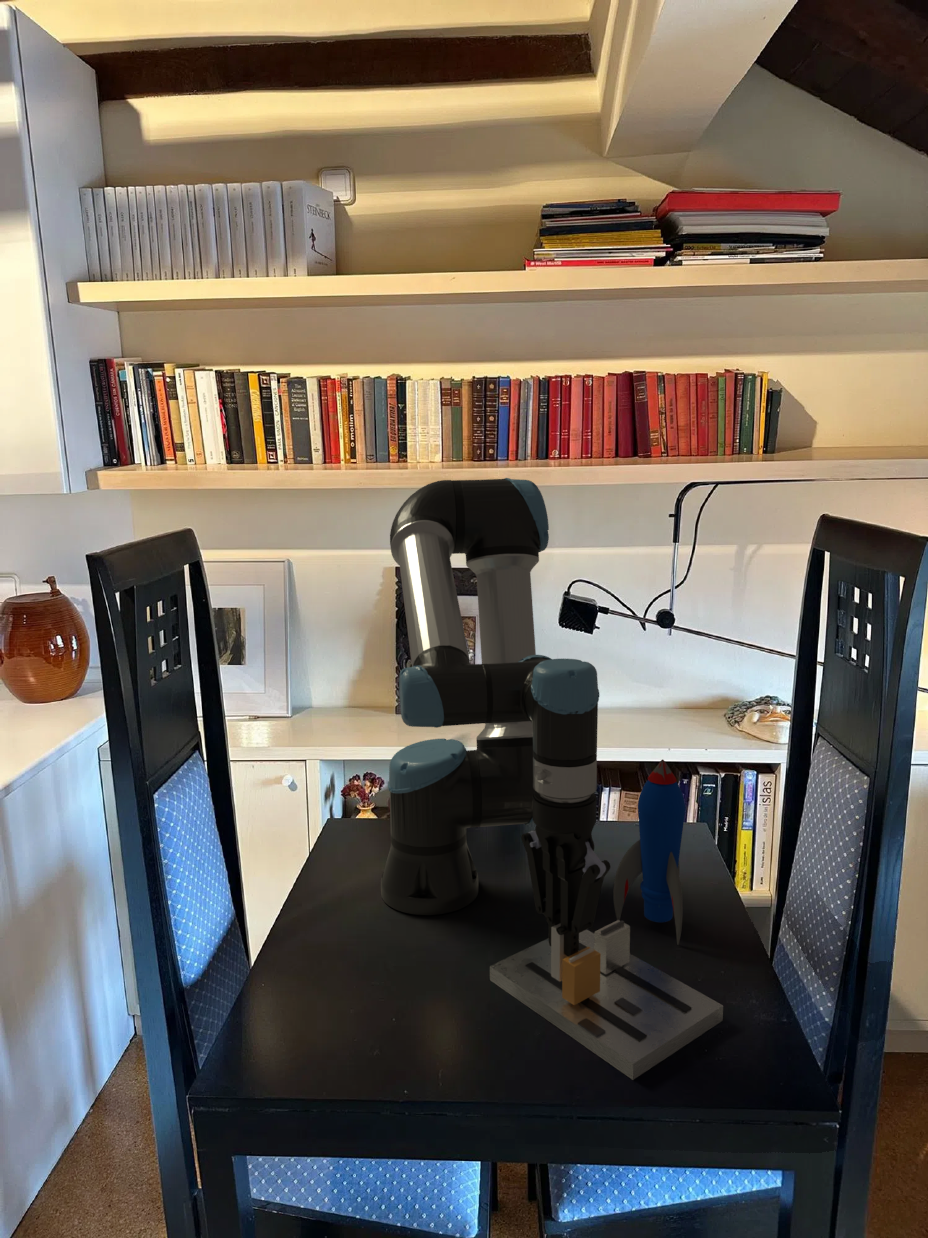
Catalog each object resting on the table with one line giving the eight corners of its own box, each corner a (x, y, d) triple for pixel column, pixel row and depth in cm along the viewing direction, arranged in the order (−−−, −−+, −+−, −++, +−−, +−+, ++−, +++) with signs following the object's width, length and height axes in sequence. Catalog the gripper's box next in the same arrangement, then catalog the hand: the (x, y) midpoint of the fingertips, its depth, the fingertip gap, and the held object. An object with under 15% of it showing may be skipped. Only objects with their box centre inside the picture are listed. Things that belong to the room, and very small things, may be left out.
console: (489, 980, 114) (489, 926, 113) (577, 937, 124) (577, 887, 123) (632, 1080, 96) (634, 1017, 94) (722, 1020, 106) (725, 962, 104)
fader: (562, 997, 106) (562, 956, 105) (587, 983, 109) (588, 943, 108) (574, 1005, 105) (574, 963, 104) (599, 991, 107) (600, 950, 106)
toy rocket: (682, 949, 121) (688, 774, 116) (611, 942, 123) (614, 770, 118) (679, 909, 131) (685, 748, 127) (614, 903, 133) (617, 744, 129)
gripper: (504, 783, 107) (505, 962, 111) (581, 816, 97) (579, 1012, 101) (549, 770, 112) (549, 942, 116) (627, 799, 102) (624, 987, 106)
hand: (563, 974), depth 109 cm, fingers closed
